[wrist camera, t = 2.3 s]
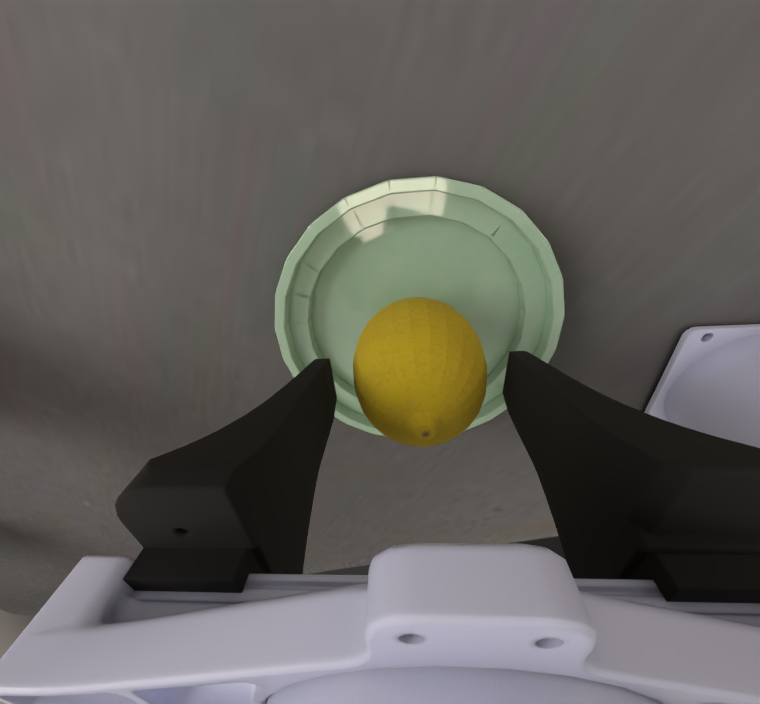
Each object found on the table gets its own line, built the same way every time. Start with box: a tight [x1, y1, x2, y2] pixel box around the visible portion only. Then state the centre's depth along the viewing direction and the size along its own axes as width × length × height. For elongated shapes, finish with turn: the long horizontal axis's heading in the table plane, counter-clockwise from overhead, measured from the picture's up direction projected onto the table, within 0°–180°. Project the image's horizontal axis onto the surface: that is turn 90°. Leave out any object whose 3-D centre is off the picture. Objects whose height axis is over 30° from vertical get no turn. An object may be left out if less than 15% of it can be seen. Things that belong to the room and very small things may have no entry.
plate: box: [275, 175, 565, 436], centre depth 16 cm, size 14×14×2 cm
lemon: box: [353, 297, 487, 447], centre depth 13 cm, size 6×6×8 cm
